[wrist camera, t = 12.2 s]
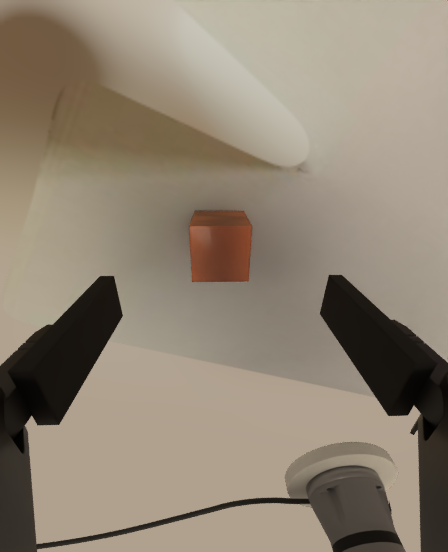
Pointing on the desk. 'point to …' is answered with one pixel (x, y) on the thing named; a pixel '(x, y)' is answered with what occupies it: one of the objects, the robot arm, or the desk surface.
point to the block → (220, 246)
